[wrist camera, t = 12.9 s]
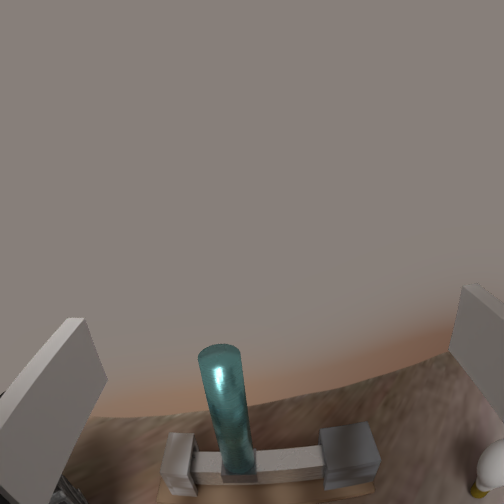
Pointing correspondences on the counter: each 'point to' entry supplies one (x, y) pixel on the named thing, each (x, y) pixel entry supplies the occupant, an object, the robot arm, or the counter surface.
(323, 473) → the tube
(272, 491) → the bench
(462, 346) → the robot arm
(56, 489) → the camera
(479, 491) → the light bulb
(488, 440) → the counter surface
